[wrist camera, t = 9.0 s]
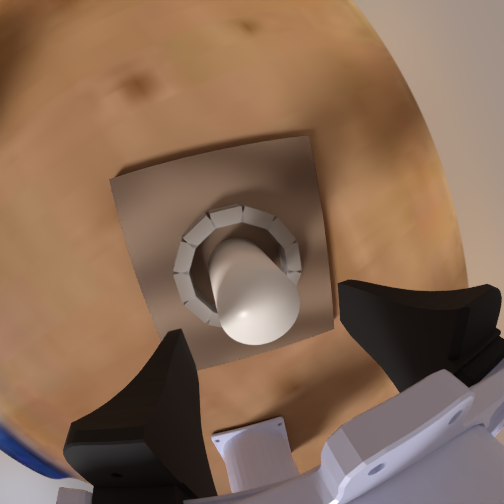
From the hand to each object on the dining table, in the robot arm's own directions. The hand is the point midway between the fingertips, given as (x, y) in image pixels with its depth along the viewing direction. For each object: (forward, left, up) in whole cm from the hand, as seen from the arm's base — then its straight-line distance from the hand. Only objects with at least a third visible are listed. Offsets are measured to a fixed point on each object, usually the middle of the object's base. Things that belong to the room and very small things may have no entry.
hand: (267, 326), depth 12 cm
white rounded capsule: (0, 0, -8) cm, 8 cm away
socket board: (0, 0, -9) cm, 9 cm away
